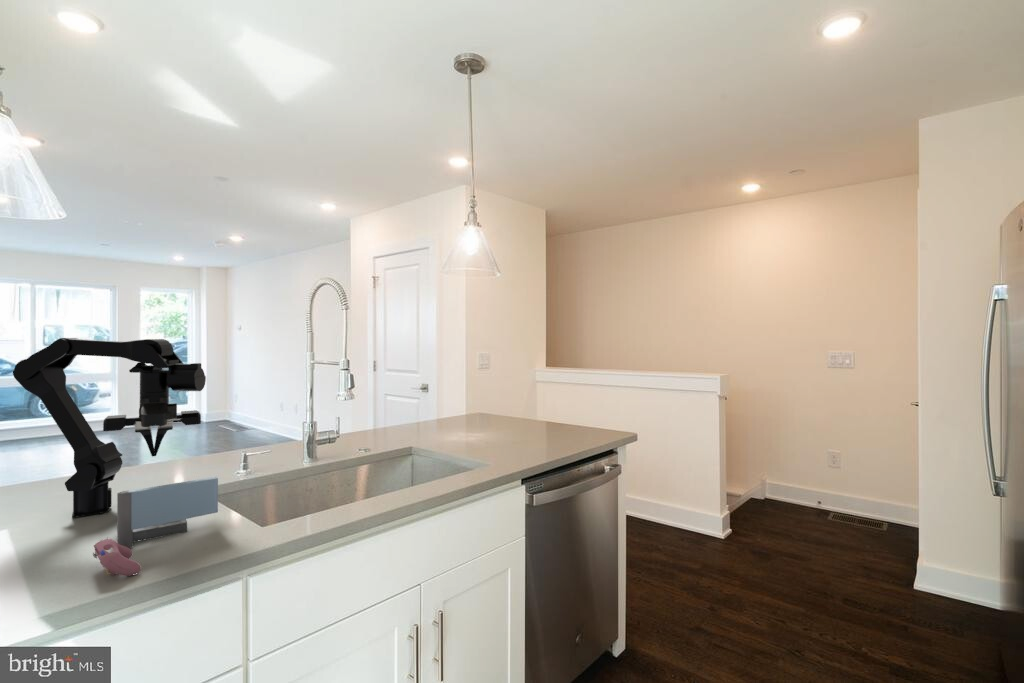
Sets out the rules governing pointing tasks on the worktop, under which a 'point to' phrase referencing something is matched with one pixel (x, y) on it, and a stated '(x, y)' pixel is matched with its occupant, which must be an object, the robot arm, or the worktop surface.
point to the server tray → (160, 530)
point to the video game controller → (116, 558)
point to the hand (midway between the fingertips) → (153, 456)
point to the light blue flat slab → (164, 505)
